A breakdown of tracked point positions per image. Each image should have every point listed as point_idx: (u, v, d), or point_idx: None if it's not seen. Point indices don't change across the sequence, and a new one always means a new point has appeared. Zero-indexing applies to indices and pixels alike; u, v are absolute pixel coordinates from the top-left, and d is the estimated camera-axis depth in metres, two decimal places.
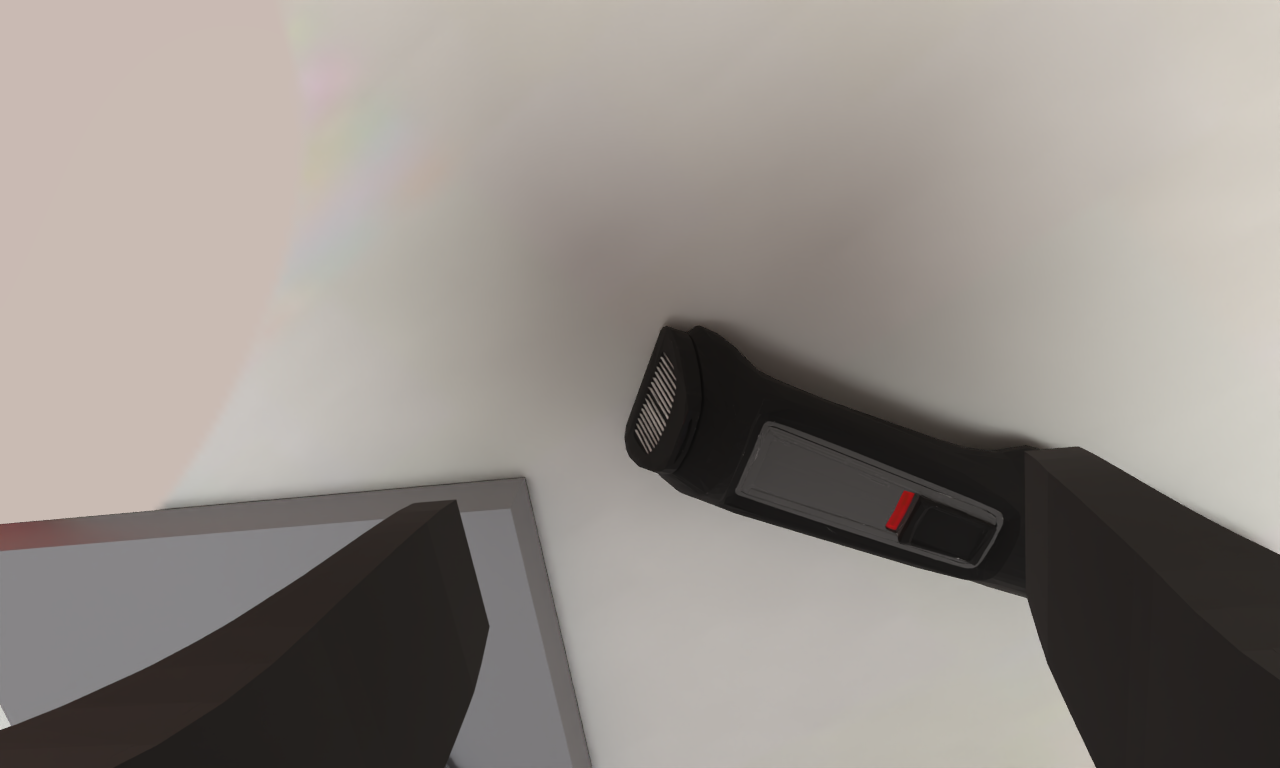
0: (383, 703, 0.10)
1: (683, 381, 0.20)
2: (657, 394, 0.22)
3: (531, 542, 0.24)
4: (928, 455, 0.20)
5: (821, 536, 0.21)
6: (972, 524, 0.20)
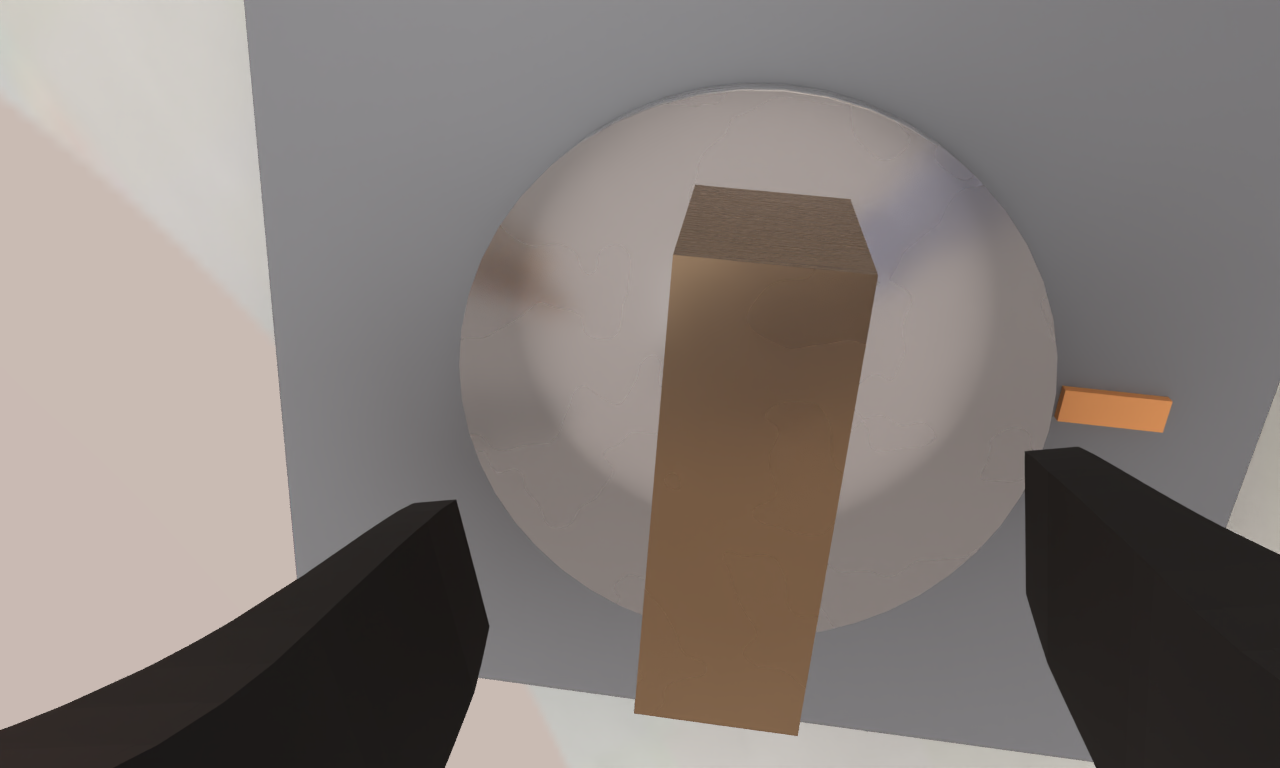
0: (383, 703, 0.10)
1: None
2: None
3: None
4: None
5: None
6: None
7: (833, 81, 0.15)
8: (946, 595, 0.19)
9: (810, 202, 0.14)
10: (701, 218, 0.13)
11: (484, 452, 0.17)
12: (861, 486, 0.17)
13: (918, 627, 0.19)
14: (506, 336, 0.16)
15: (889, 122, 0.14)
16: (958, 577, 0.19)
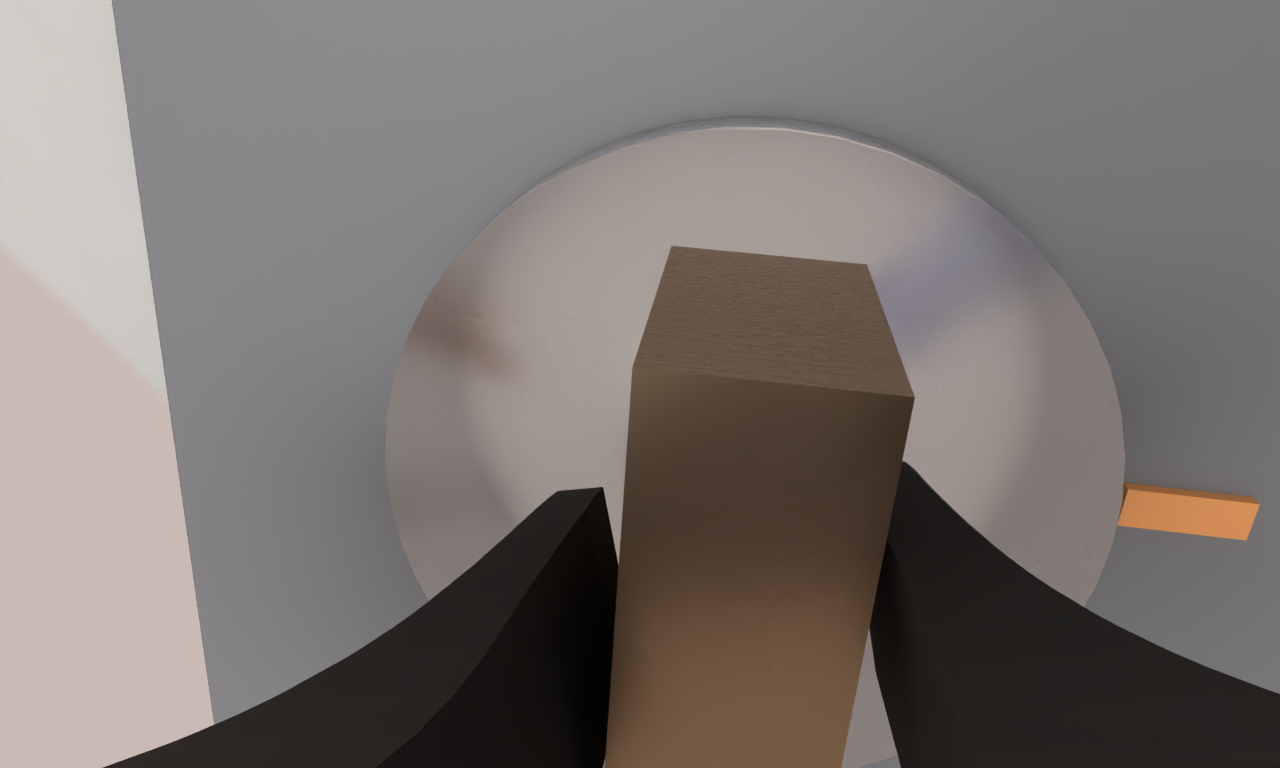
0: (560, 695, 0.10)
1: None
2: None
3: None
4: None
5: None
6: None
7: (845, 115, 0.12)
8: None
9: (817, 271, 0.11)
10: (675, 301, 0.10)
11: (419, 562, 0.14)
12: None
13: None
14: (441, 426, 0.13)
15: (917, 169, 0.11)
16: None
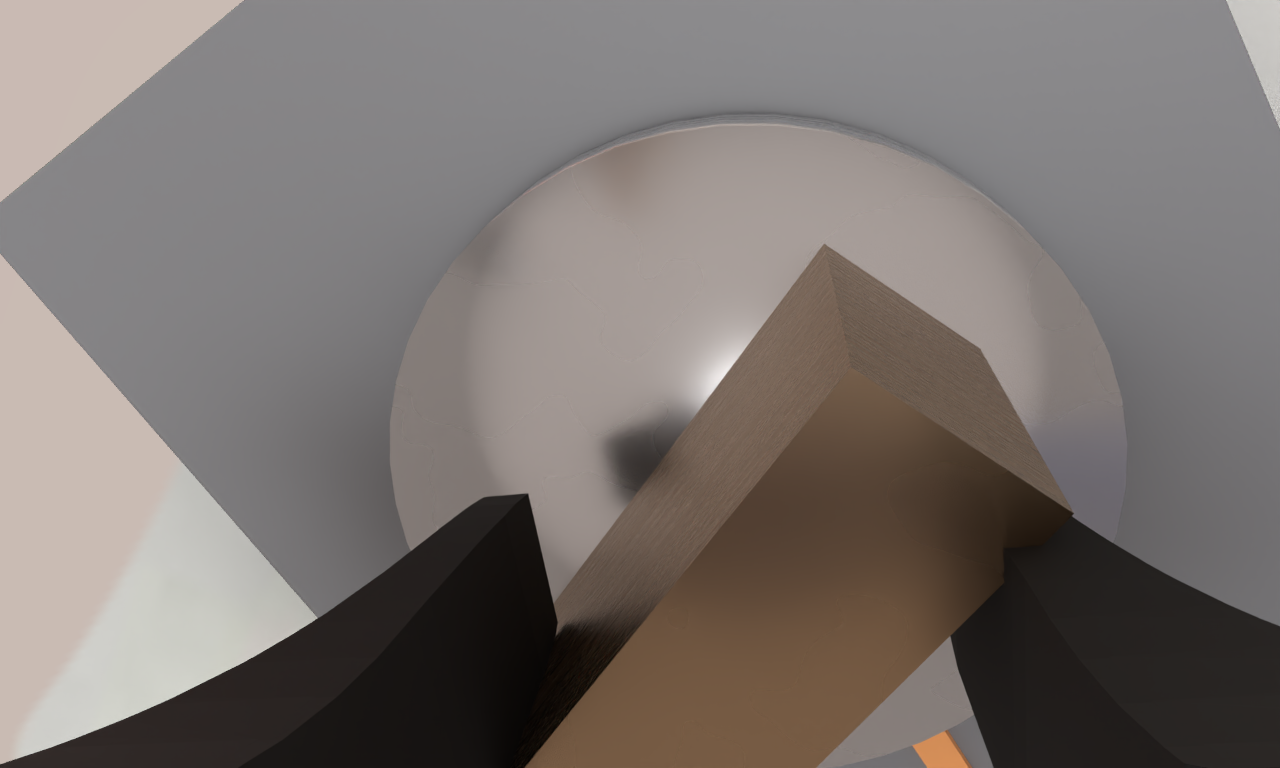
0: (470, 699, 0.10)
1: None
2: None
3: None
4: None
5: None
6: None
7: None
8: None
9: (946, 335, 0.12)
10: (853, 309, 0.10)
11: (402, 411, 0.13)
12: None
13: None
14: (503, 296, 0.13)
15: (1072, 291, 0.12)
16: None
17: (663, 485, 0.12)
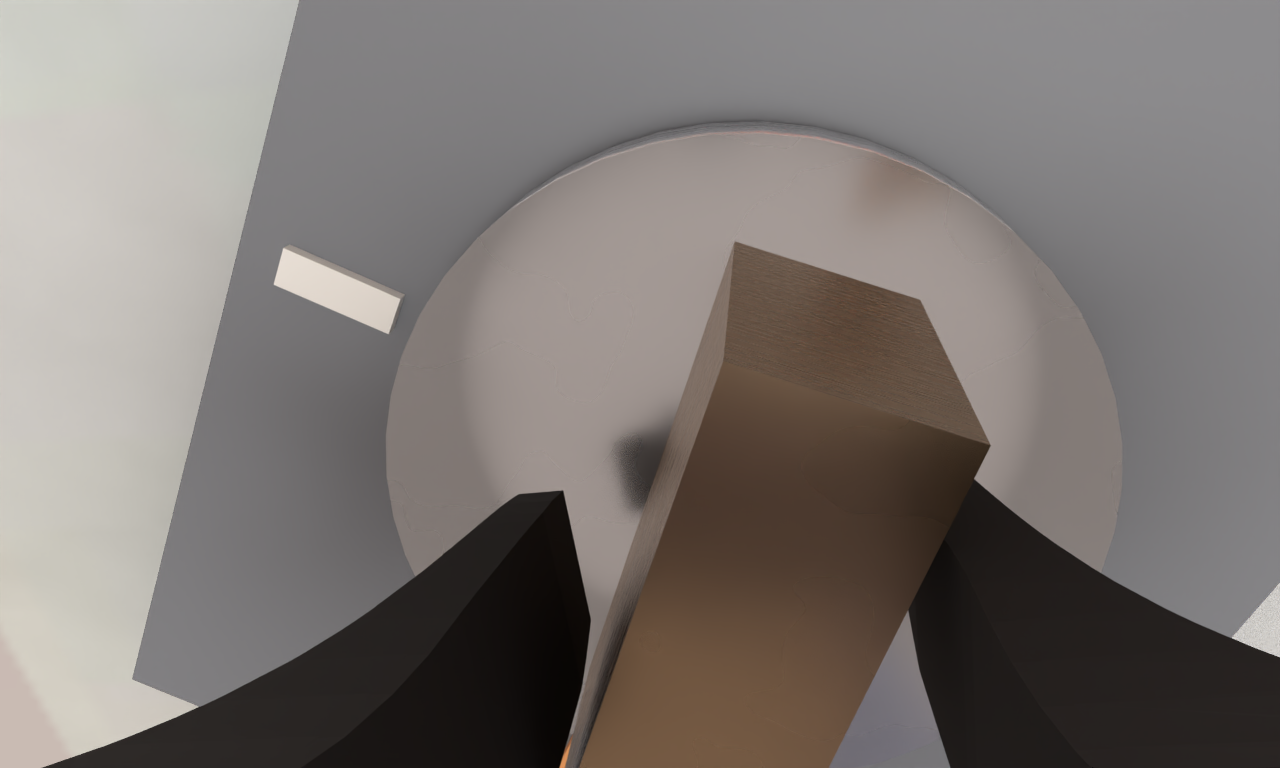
0: (512, 697, 0.10)
1: None
2: None
3: None
4: None
5: None
6: None
7: None
8: (388, 567, 0.16)
9: (875, 296, 0.11)
10: (750, 300, 0.10)
11: (401, 503, 0.14)
12: None
13: (346, 530, 0.16)
14: (457, 372, 0.13)
15: (991, 218, 0.11)
16: None
17: (647, 513, 0.12)
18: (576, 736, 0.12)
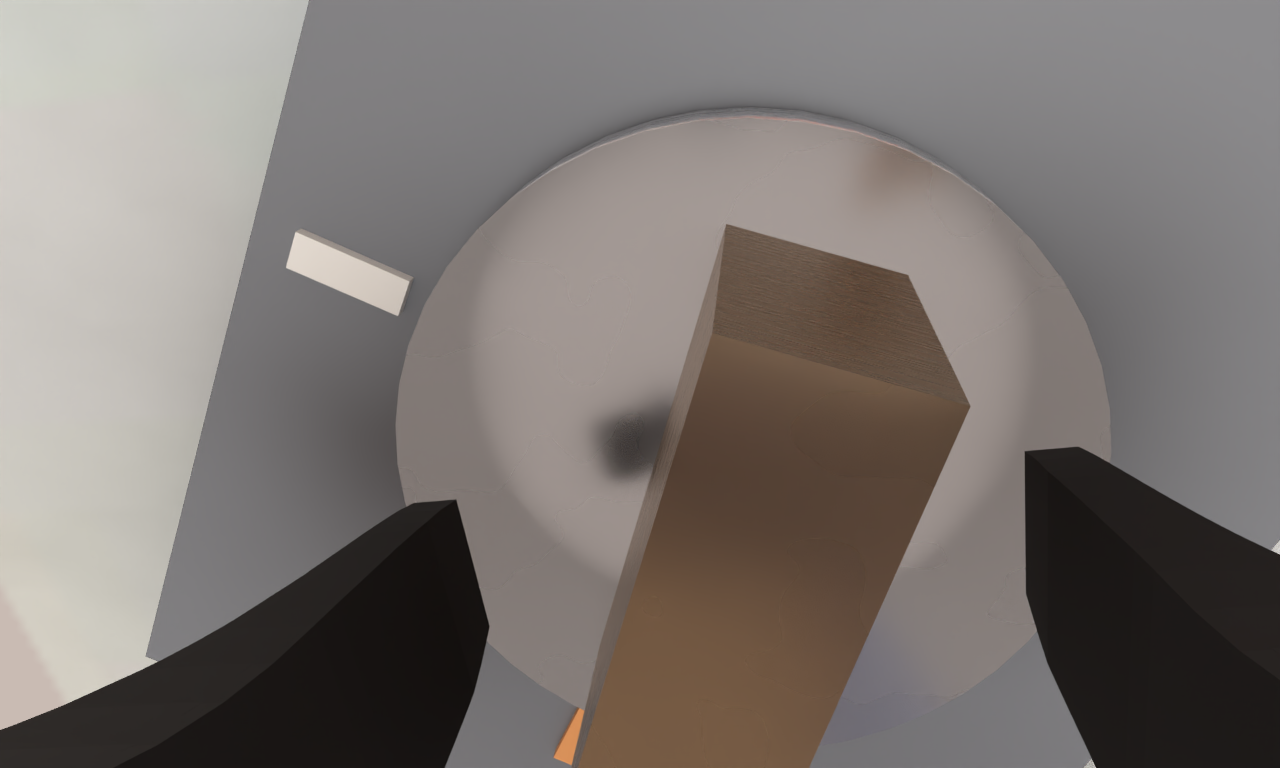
0: (383, 703, 0.10)
1: None
2: None
3: None
4: None
5: None
6: None
7: None
8: None
9: (863, 272, 0.12)
10: (740, 277, 0.10)
11: (412, 490, 0.14)
12: None
13: (356, 508, 0.16)
14: (462, 361, 0.13)
15: (974, 193, 0.12)
16: None
17: (649, 490, 0.13)
18: (587, 708, 0.13)
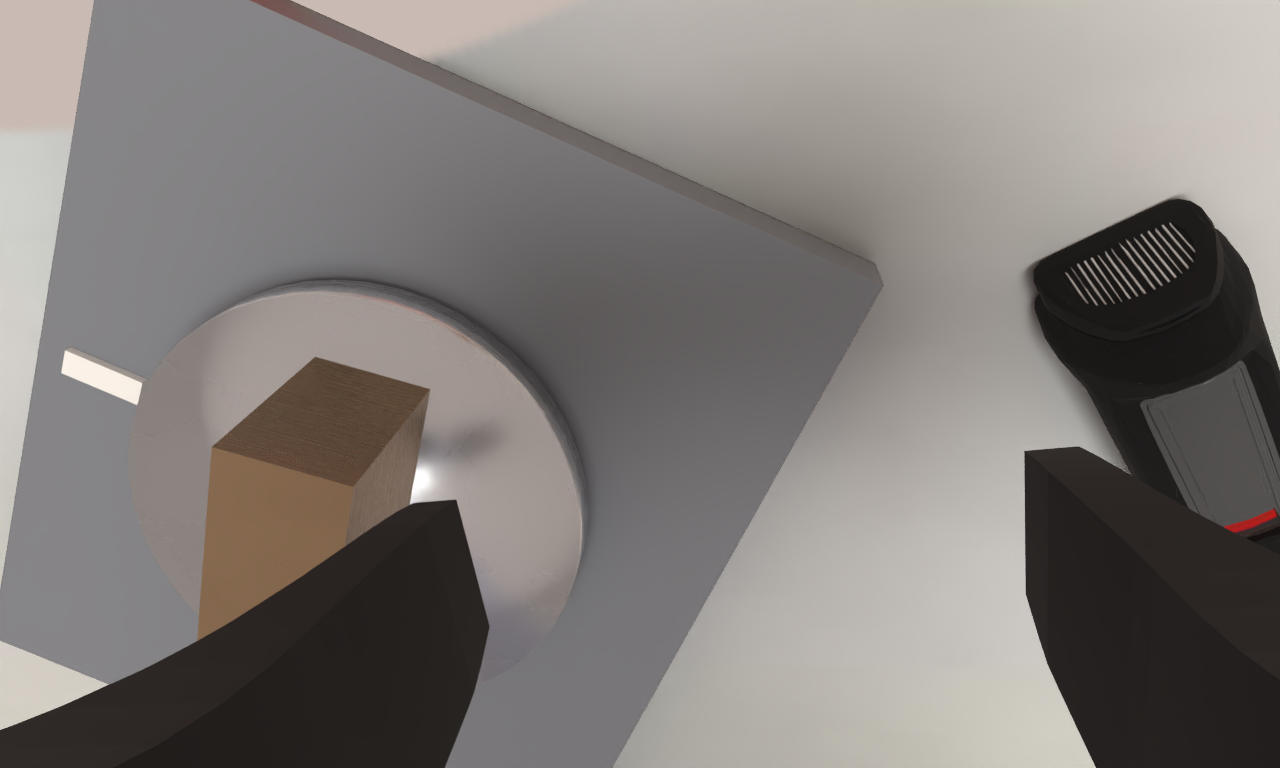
0: (383, 703, 0.10)
1: (1214, 265, 0.17)
2: (1136, 256, 0.19)
3: None
4: None
5: None
6: None
7: None
8: None
9: (391, 390, 0.19)
10: (278, 403, 0.17)
11: (145, 522, 0.21)
12: None
13: (127, 533, 0.23)
14: (166, 438, 0.21)
15: (458, 341, 0.19)
16: None
17: None
18: None
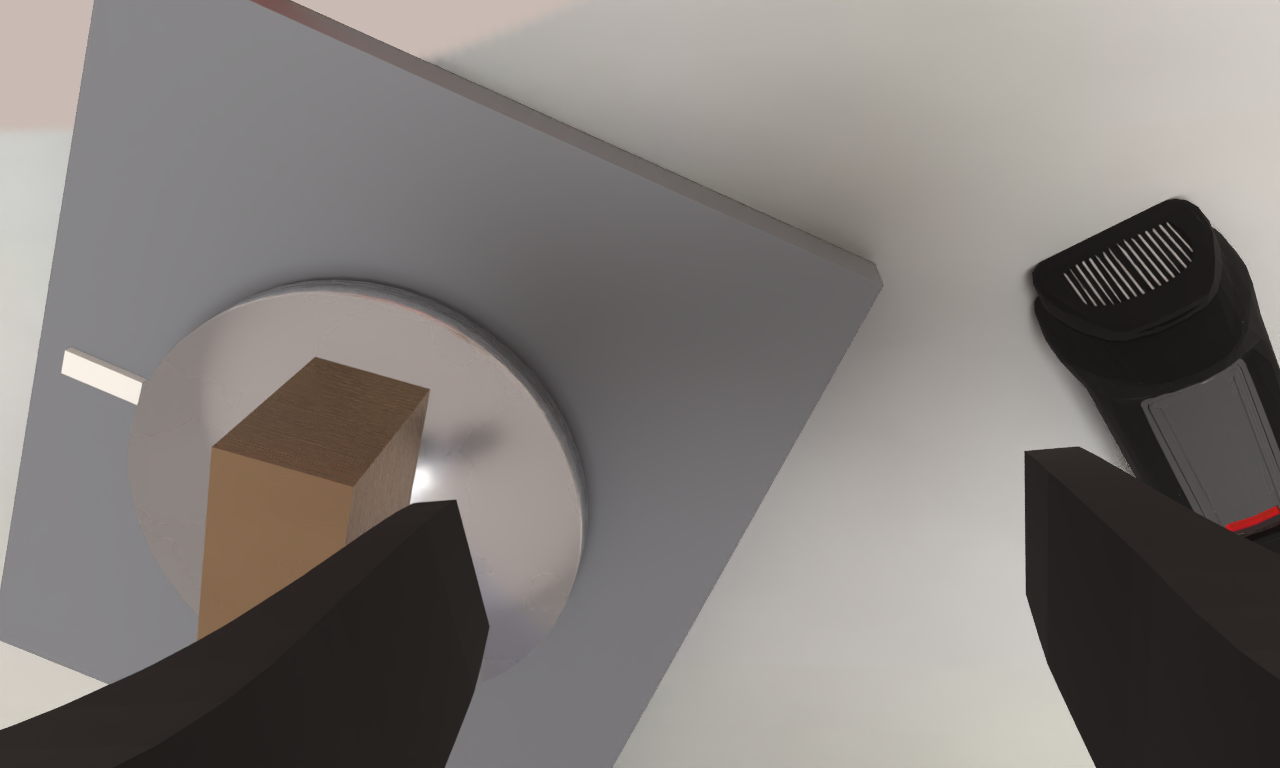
0: (383, 703, 0.10)
1: (1212, 264, 0.17)
2: (1134, 257, 0.19)
3: None
4: None
5: (1165, 494, 0.19)
6: None
7: None
8: None
9: (391, 390, 0.19)
10: (277, 403, 0.17)
11: (145, 522, 0.21)
12: None
13: (127, 533, 0.23)
14: (165, 438, 0.21)
15: (458, 341, 0.19)
16: None
17: None
18: None
